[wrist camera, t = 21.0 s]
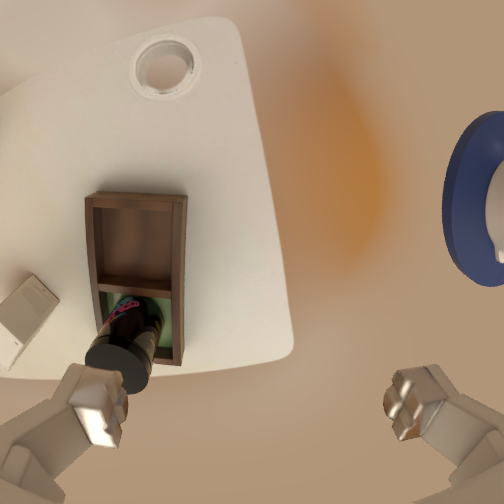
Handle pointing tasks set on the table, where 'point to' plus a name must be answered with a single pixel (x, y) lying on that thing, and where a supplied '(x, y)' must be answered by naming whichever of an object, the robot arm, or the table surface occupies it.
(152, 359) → the supplement container
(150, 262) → the brown wooden shallow tray
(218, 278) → the table surface
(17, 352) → the small box
